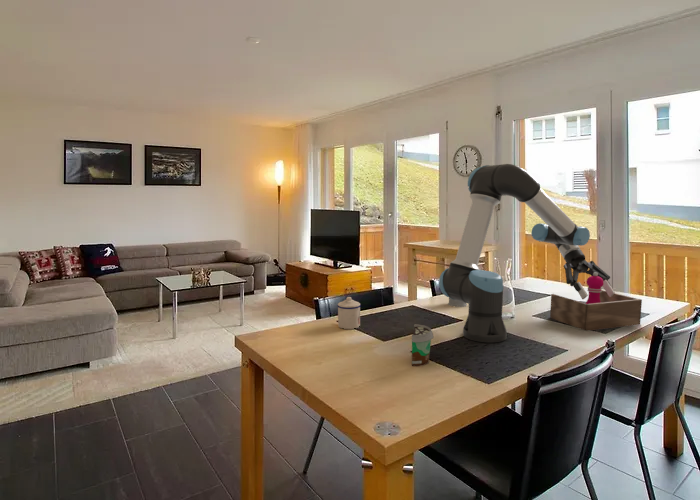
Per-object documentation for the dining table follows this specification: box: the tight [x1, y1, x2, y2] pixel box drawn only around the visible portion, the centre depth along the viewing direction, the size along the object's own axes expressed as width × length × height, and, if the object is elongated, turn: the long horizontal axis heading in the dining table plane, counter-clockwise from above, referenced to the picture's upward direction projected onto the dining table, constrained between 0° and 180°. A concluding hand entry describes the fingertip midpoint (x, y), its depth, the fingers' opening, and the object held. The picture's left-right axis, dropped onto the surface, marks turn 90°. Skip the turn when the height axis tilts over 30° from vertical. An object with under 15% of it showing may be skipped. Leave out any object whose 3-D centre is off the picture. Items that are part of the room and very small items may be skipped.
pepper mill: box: [585, 272, 604, 304], centre depth 178 cm, size 7×7×20 cm
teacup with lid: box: [337, 296, 362, 330], centre depth 175 cm, size 12×9×12 cm
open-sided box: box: [549, 289, 643, 332], centre depth 178 cm, size 19×26×10 cm
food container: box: [411, 323, 434, 367], centre depth 137 cm, size 12×6×10 cm, turn 168°
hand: (599, 296), depth 176 cm, fingers open, 13 cm apart
